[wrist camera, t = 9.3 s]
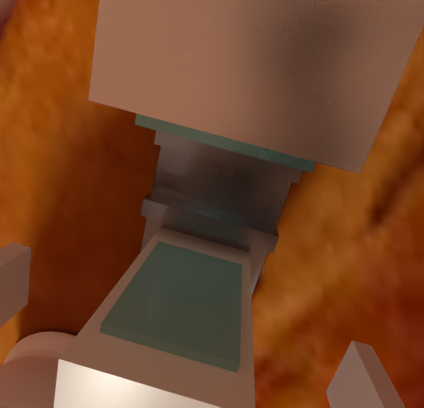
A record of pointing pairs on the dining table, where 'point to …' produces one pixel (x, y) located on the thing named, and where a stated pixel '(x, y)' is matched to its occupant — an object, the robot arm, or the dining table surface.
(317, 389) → the dining table surface
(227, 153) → the rail
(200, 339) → the block
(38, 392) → the jar
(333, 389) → the robot arm
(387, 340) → the dining table surface
